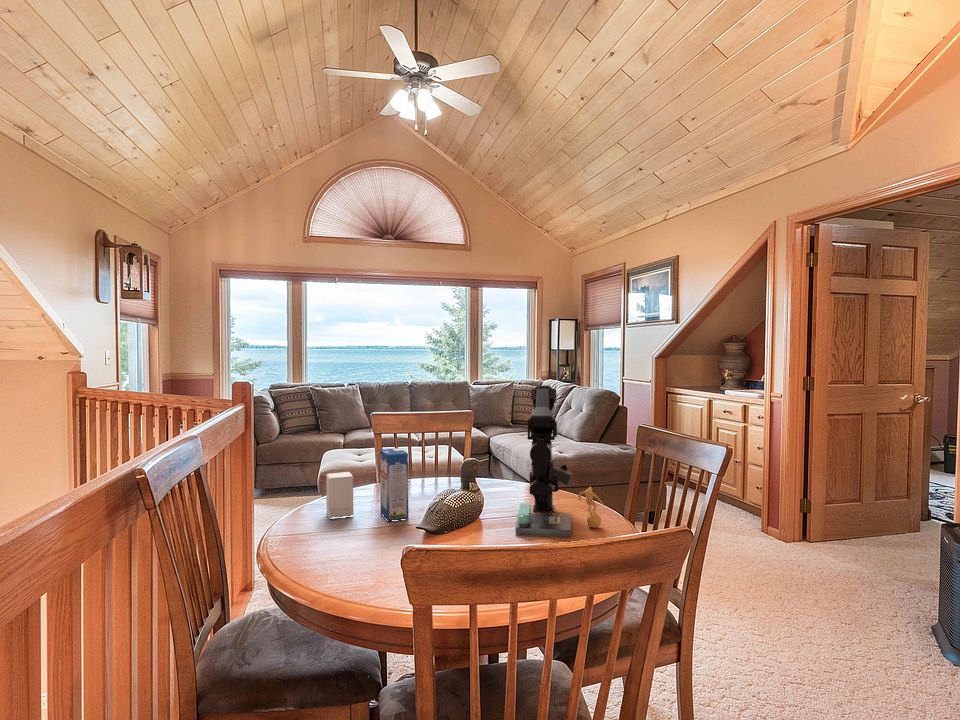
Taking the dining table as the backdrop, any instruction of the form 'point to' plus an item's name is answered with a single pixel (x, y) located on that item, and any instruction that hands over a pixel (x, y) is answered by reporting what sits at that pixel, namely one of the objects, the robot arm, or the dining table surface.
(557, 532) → the server tray
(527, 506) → the swing bar
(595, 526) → the figurine
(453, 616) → the dining table surface
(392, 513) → the milk carton
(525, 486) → the dining table surface
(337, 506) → the supplement box
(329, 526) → the dining table surface
